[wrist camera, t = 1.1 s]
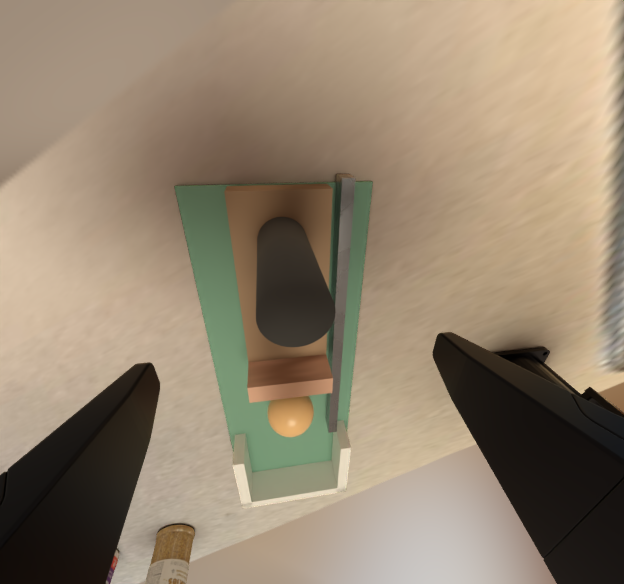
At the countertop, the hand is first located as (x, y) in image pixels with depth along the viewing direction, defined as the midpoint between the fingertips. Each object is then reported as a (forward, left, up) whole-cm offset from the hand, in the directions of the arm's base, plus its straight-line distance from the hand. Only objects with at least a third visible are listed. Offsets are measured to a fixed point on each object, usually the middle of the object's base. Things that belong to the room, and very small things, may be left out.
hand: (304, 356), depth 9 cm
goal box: (0, +24, -12) cm, 27 cm away
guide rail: (-4, +8, -12) cm, 15 cm away
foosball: (0, +15, -10) cm, 18 cm away
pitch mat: (0, +13, -12) cm, 18 cm away
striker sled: (0, +4, -12) cm, 13 cm away
